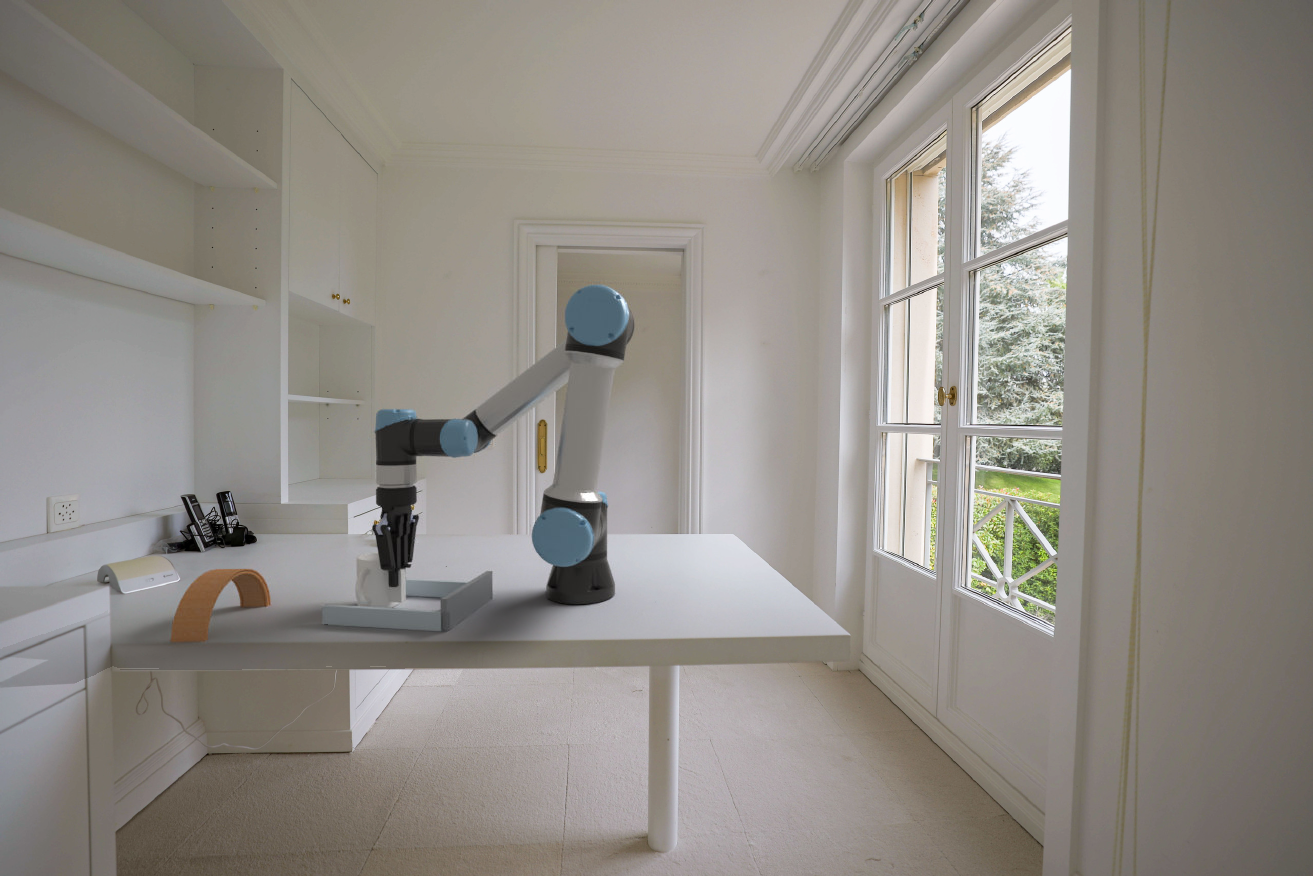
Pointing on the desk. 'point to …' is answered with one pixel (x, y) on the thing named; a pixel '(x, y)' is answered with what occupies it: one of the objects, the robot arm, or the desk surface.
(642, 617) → the desk surface
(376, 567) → the mug
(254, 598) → the arch
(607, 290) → the robot arm
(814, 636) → the desk surface
